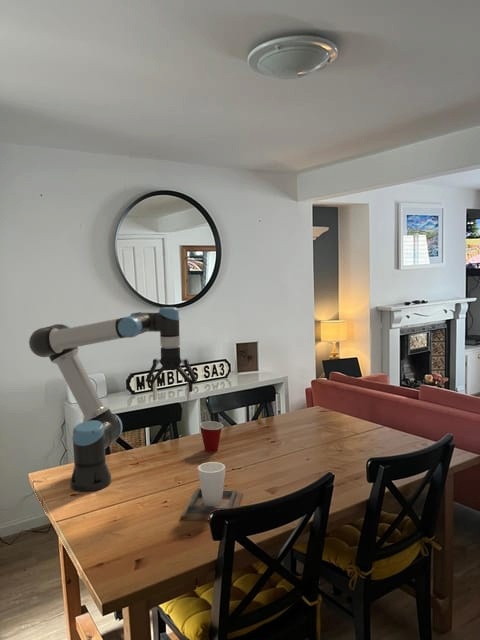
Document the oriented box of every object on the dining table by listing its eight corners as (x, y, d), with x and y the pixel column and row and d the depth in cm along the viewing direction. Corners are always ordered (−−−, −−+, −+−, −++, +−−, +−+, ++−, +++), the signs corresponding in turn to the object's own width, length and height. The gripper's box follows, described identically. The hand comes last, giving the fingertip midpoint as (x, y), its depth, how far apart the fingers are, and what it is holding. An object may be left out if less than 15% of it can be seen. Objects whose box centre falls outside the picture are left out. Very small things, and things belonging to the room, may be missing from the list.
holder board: (180, 519, 174) (180, 510, 173) (194, 493, 193) (194, 484, 193) (234, 522, 171) (234, 512, 171) (242, 495, 191) (242, 486, 191)
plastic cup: (220, 454, 232) (220, 428, 230) (197, 453, 234) (196, 427, 233) (226, 446, 242) (225, 421, 241) (203, 445, 244) (202, 420, 243)
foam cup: (227, 497, 187) (226, 462, 185) (224, 509, 177) (223, 472, 176) (201, 497, 187) (200, 461, 186) (196, 509, 178) (195, 472, 177)
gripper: (203, 345, 208) (204, 397, 211) (142, 345, 212) (144, 396, 214) (199, 348, 201) (200, 402, 203) (136, 348, 204) (138, 401, 207)
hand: (171, 399), depth 209 cm, fingers open, 13 cm apart
